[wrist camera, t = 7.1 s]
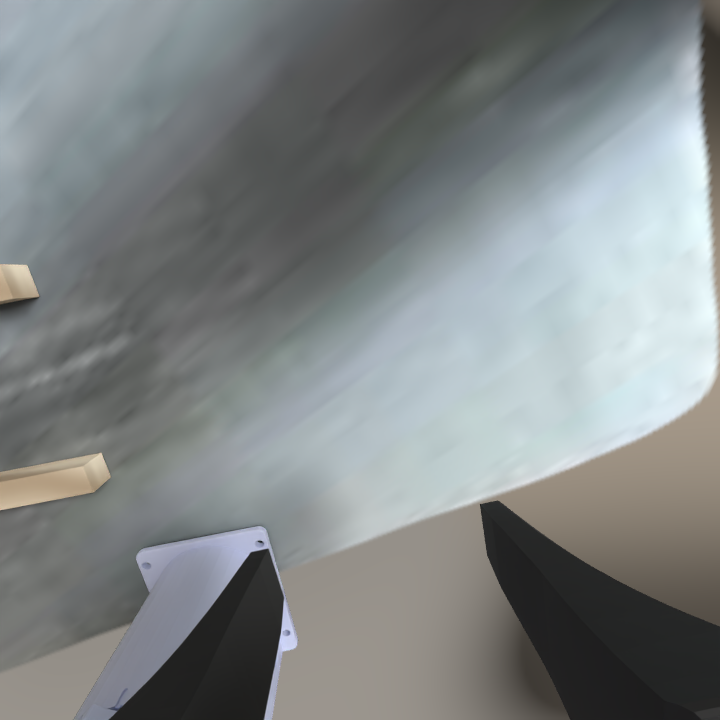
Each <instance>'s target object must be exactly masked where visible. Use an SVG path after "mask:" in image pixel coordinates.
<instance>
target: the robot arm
mask: <svg viewBox="0 0 720 720" xmlns="http://www.w3.org/2000/svg"><path fill="white" fill-rule="evenodd" d="M480 507H481V515H482V522H483V529H484V535H485V543H486V550H487V556H488V558H489V560H490V563H491V565H492V567H493V570H494V572H495V575H496V577H497V579H498V581H499V584H500V586H501V588H502V590H503V592H504V594H505V595H506V597H507V599H508V601H509V603H510V604H511V606H512V608H513V610H514V612H515V613H516V615H517V617H518V619H519V621H520V622H521V624H522V626H523V628H524V629H525V631H526V633H527V634H528V636H529V638H530V640H531V642H532V643H533V645H534V647H535V649H536V651H537V652H538V654H539V656H540V658H541V660H542V662H543V663H544V665H545V667H546V669H547V671H548V673H549V675H550V677H551V679H552V681H553V683H554V685H555V687H556V690H557V692H558V694H559V696H560V698H561V700H562V702H563V705H564V707H565V709H566V711H567V713H568V715H569V718H570V720H720V627H719V626H717V625H714V624H712V623H709V622H707V621H704V620H702V619H699V618H697V617H694V616H692V615H689V614H687V613H685V612H682V611H680V610H678V609H675V608H673V607H671V606H668V605H666V604H664V603H662V602H660V601H658V600H656V599H653V598H651V597H649V596H647V595H645V594H643V593H641V592H639V591H636V590H635V589H632V588H631V587H629V586H627V585H625V584H623V583H621V582H619V581H617V580H615V579H613V578H612V577H610V576H608V575H606V574H604V573H603V572H600V571H599V570H597V569H595V568H594V567H591V566H590V565H588V564H587V563H585V562H583V561H582V560H580V559H579V558H577V557H575V556H574V555H572V554H571V553H569V552H568V551H566V550H565V549H563V548H562V547H560V546H559V545H557V544H556V543H554V542H553V541H552V540H550V539H549V538H547V537H546V536H545V535H543V534H542V533H540V532H539V531H538V530H536V529H535V528H533V527H532V526H531V525H529V524H528V523H527V522H525V521H524V520H523V519H522V518H520V517H519V516H518V515H516V514H515V513H514V512H512V511H511V510H510V509H508V508H507V507H506V506H505V505H504V504H502V503H501V502H499V501H494V502H489V503H484V504H480ZM258 540H261V541H263V543H259V542H258ZM136 561H137V563H138V566H139V568H140V571H141V573H142V576H143V578H144V581H145V583H146V586H147V588H148V591H149V593H150V594H149V595H148V597H147V599H146V600H145V602H144V604H143V605H142V607H141V609H140V610H139V612H138V614H137V615H136V617H135V618H134V620H133V622H132V623H131V625H130V627H129V628H128V630H127V632H126V633H125V635H124V637H123V638H122V640H121V642H120V643H119V645H118V647H117V648H116V650H115V652H114V653H113V655H112V656H111V658H110V660H109V662H108V663H107V665H106V667H105V668H104V670H103V671H102V673H101V675H100V676H99V678H98V680H97V681H96V683H95V685H94V686H93V688H92V690H91V691H90V693H89V695H88V696H87V698H86V700H85V701H84V703H83V705H82V706H81V708H80V709H79V711H78V713H77V714H76V716H75V718H74V720H272V716H273V709H274V703H275V696H276V691H277V684H278V678H279V671H280V665H281V659H282V653H283V651H288V650H292V649H294V648H296V647H297V644H298V637H297V633H296V630H295V627H294V623H293V620H292V616H291V613H290V609H289V606H288V603H287V599H286V596H285V592H284V589H283V585H282V582H281V579H280V575H279V571H278V568H277V565H276V561H275V558H274V554H273V551H272V547H271V544H270V540H269V537H268V534H267V531H266V529H265V528H264V527H261V526H256V527H251V528H246V529H240V530H235V531H230V532H225V533H220V534H215V535H209V536H204V537H199V538H194V539H189V540H183V541H178V542H173V543H168V544H163V545H158V546H152V547H147V548H143V549H141V550H140V551H139V552H138V554H137V555H136ZM146 562H148V563H150V564H147V563H146Z"/></svg>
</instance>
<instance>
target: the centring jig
mask: <svg viewBox="0 0 720 720" xmlns="http://www.w3.org/2000/svg"><path fill="white" fill-rule="evenodd" d="M36 297H39V294H38V291H37V289H36V286H35V284H34V281H33V279H32V276H31V274H30V271H29V269H28V266H27V265H6V264H0V304H4V303H9V302H15V301H20V300H25V299H30V298H36ZM109 478H111V476H110V473H109V471H108V468H107V466H106V463H105V461H104V458H103V456H102V453H97V454H92V455H87V456H81V457H76V458H71V459H66V460H61V461H55V462H50V463H45V464H40V465H35V466H29V467H24V468H19V469H14V470H9V471H3V472H0V510H4V509H9V508H14V507H20V506H25V505H30V504H35V503H40V502H46V501H51V500H56V499H61V498H66V497H72V496H77V495H82V494H87V493H92V492H95V491H96V490H97V489H98V488H99V487H100V486H101V485H103V484H104V483H105V482H106V481H107V480H108V479H109Z"/></svg>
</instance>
